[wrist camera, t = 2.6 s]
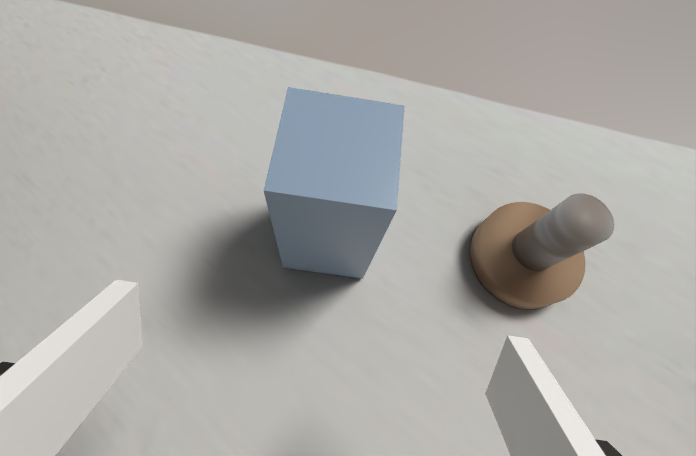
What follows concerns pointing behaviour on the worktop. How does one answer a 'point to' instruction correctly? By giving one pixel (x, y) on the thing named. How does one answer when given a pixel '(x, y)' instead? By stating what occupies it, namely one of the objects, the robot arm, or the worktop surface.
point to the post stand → (538, 249)
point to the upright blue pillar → (333, 180)
